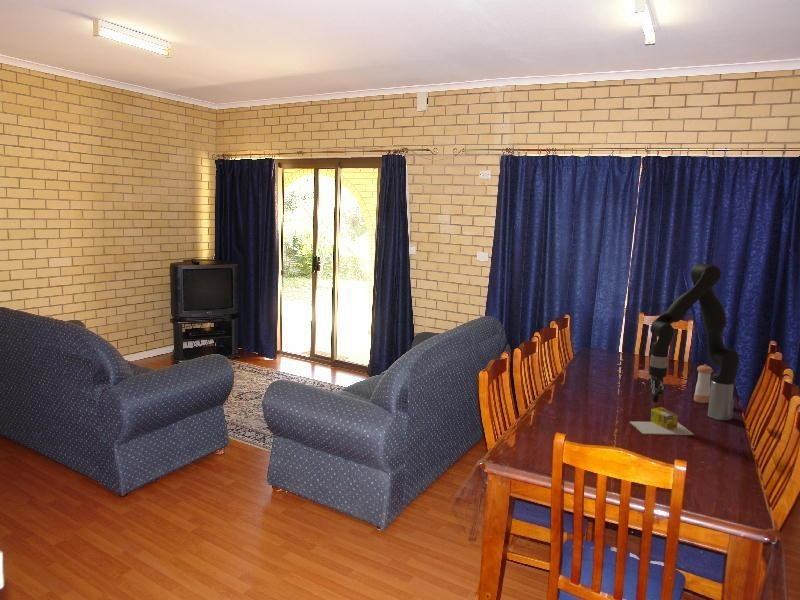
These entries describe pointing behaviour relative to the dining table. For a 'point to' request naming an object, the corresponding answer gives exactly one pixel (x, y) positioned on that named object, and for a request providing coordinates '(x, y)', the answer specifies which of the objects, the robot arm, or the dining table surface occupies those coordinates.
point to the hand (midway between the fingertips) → (654, 402)
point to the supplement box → (663, 417)
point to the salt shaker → (703, 384)
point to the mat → (660, 429)
